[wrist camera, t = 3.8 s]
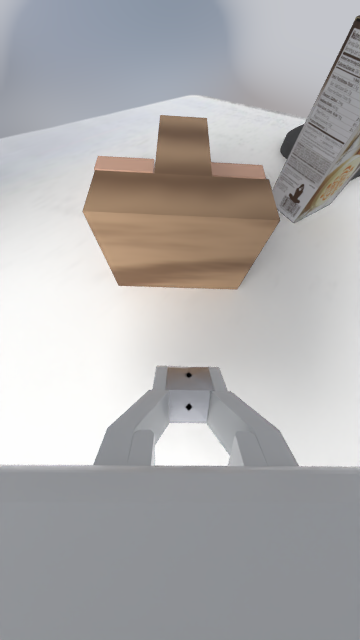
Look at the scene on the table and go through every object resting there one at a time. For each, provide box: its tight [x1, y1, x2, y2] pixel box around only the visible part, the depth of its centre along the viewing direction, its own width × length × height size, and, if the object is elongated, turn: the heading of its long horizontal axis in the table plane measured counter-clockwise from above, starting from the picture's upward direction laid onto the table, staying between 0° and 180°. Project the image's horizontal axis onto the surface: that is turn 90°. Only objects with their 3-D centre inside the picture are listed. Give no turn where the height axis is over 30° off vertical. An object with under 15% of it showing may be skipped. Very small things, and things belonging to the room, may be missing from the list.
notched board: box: [94, 156, 266, 179], centre depth 28 cm, size 3×24×4 cm, turn 89°
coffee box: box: [272, 16, 360, 223], centre depth 23 cm, size 9×6×16 cm
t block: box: [83, 115, 280, 289], centre depth 21 cm, size 15×15×10 cm
